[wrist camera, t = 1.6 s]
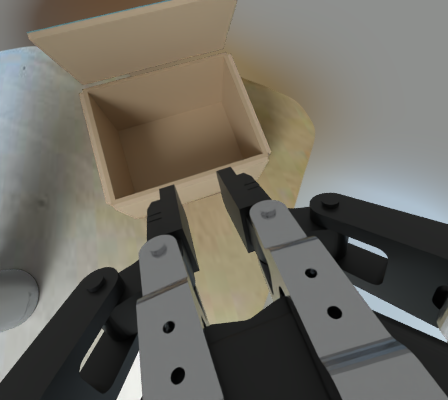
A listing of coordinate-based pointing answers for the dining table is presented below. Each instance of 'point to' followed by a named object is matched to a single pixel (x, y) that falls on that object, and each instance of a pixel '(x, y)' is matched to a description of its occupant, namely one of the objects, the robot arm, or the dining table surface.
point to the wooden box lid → (136, 37)
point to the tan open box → (172, 132)
